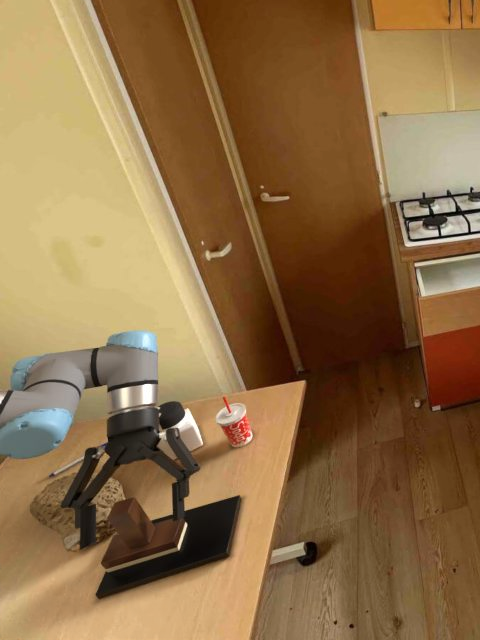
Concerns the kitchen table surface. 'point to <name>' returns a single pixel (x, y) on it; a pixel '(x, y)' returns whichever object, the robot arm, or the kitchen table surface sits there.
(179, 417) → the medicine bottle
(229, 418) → the beverage cup
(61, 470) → the ballpoint pen
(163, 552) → the brown block
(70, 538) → the sponge
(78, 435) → the kitchen table surface
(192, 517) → the panel
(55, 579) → the kitchen table surface
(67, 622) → the kitchen table surface
